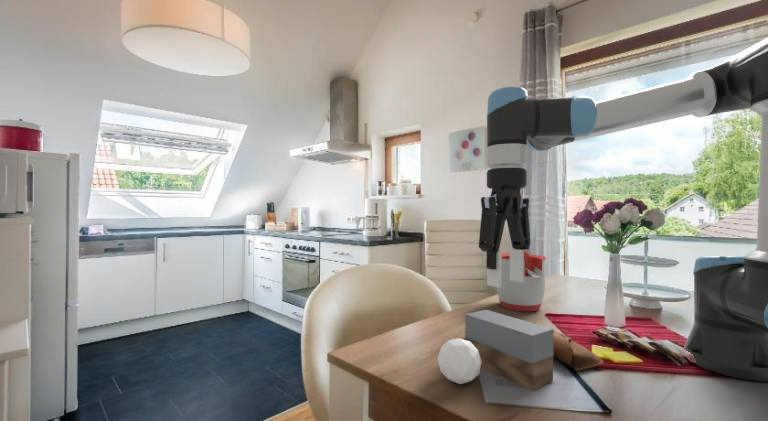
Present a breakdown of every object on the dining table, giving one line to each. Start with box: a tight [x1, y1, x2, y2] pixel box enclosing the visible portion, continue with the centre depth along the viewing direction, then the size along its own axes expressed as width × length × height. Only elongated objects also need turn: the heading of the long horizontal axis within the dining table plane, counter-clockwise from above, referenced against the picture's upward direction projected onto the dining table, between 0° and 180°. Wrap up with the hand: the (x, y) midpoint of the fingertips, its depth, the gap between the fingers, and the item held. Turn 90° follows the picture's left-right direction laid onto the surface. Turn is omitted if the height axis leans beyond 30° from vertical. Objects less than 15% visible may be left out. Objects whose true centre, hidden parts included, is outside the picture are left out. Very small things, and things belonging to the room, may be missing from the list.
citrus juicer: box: [496, 249, 547, 313], centre depth 118 cm, size 16×17×20 cm
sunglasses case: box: [553, 330, 605, 372], centre depth 81 cm, size 18×7×7 cm
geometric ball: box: [437, 337, 482, 385], centre depth 67 cm, size 8×8×8 cm
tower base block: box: [463, 337, 554, 392], centre depth 73 cm, size 16×6×5 cm, turn 36°
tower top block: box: [464, 309, 554, 364], centre depth 73 cm, size 16×6×5 cm, turn 34°
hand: (505, 283), depth 72 cm, fingers open, 7 cm apart
